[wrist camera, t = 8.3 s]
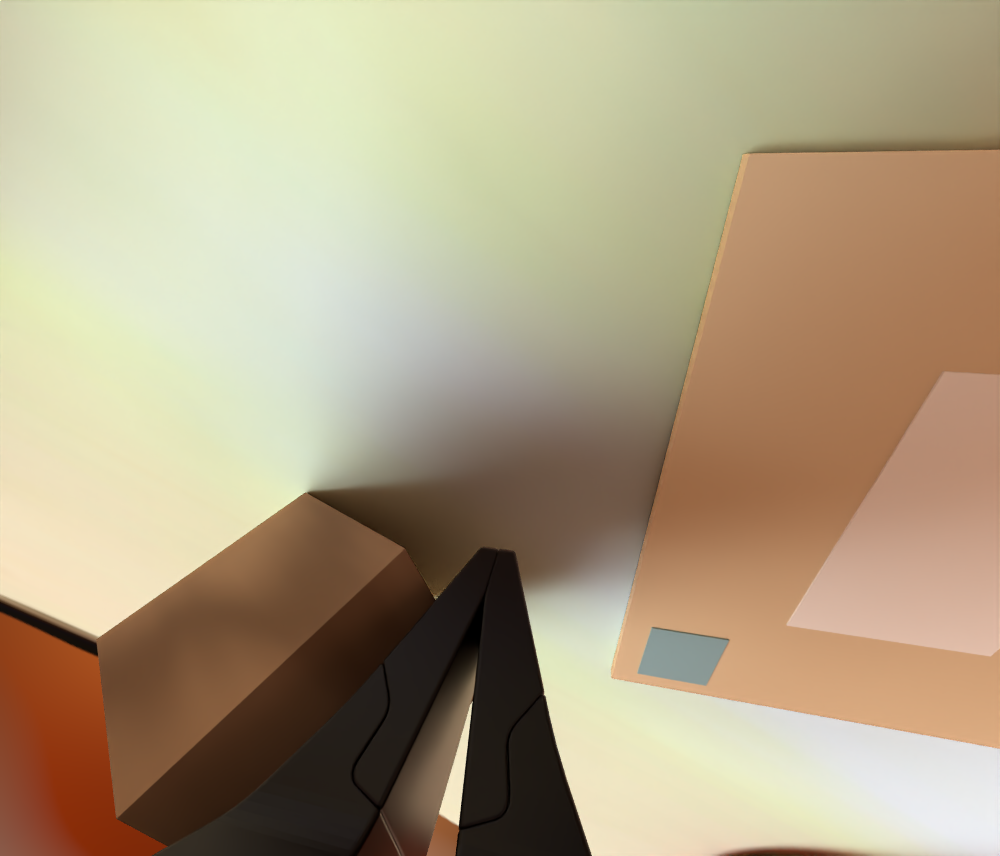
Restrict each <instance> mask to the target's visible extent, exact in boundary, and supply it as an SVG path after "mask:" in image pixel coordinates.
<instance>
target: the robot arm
mask: <svg viewBox="0 0 1000 856" xmlns="http://www.w3.org/2000/svg"><path fill="white" fill-rule="evenodd" d="M383 664H384V665H383ZM383 664H380V665H379V666H378V667H377V668H376V670H375V671H374V672H373V673H372V674H371V675H370V677H369V678H368V679H367V680H366V681H365V682H364V683H363V684H362V686H361V687H360V688H359V689H358V690H357V691H356V692H355V693H354V694H353V695H352V697H351V698H350V699H349V700H348V701H347V702H346V703H345V704H344V705H343V706H342V707H341V708H340V709H339V710H338V711H337V712H336V713H335V714H334V715H333V716H332V717H331V718H330V719H329V720H328V721H327V722H326V723H325V724H324V725H323V726H322V727H321V728H320V729H319V730H318V731H317V732H316V733H315V734H313V735H312V736H311V737H310V738H309V739H308V740H307V741H306V742H305V743H304V744H303V745H302V746H301V747H300V748H299V749H298V750H297V751H296V752H295V753H294V754H293V755H292V756H291V757H289V758H288V759H287V760H286V761H285V762H284V763H283V764H282V765H281V766H280V767H279V768H278V769H277V770H276V771H275V772H274V773H273V774H272V775H271V776H270V777H269V778H268V779H267V780H265V781H264V782H263V783H262V784H261V785H260V786H259V787H258V788H257V789H256V790H255V791H253V792H252V793H251V794H250V795H249V796H247V797H246V798H245V799H244V800H242V801H241V802H240V803H238V804H237V805H236V806H235V807H233V808H232V809H230V810H229V811H227V812H226V813H224V814H223V815H221V816H220V817H218V818H216V819H215V820H213V821H211V822H210V823H208V824H206V825H204V826H203V827H201V828H199V829H197V830H196V831H194V832H192V833H190V834H189V835H187V836H185V837H183V838H182V839H180V840H178V841H176V842H175V843H173V844H171V845H169V846H168V847H166V848H164V849H163V850H161V851H159V852H157V853H156V854H154V855H152V856H426V855H427V852H428V848H429V845H430V841H431V838H432V835H433V831H434V828H435V824H436V821H437V817H438V814H439V810H440V807H441V804H442V800H443V797H444V793H445V790H446V786H447V783H448V779H449V776H450V773H451V769H452V766H453V762H454V759H455V755H456V752H457V748H458V745H459V741H460V738H461V735H462V731H463V728H464V724H465V721H466V717H467V714H468V710H469V707H470V704H471V700H472V697H473V703H472V712H471V721H470V730H469V739H468V748H467V757H466V766H465V775H464V784H463V793H462V802H461V811H460V820H459V833H458V839H457V847H456V856H592V855H591V852H590V849H589V846H588V843H587V839H586V836H585V833H584V830H583V827H582V824H581V821H580V818H579V815H578V812H577V809H576V806H575V803H574V800H573V797H572V794H571V791H570V788H569V785H568V782H567V779H566V775H565V772H564V769H563V765H562V762H561V759H560V755H559V752H558V749H557V745H556V741H555V737H554V733H553V728H552V724H551V720H550V716H549V711H548V706H547V701H546V697H545V695H544V688H543V683H542V678H541V673H540V668H539V664H538V659H537V654H536V649H535V644H534V640H533V635H532V630H531V625H530V620H529V616H528V611H527V606H526V601H525V596H524V592H523V587H522V582H521V577H520V572H519V568H518V563H517V558H516V554H515V552H514V551H511V550H504V549H499V550H498V549H496V548H490V547H482V548H480V549H479V550H478V551H477V553H476V554H475V555H474V556H473V557H472V558H471V560H470V561H469V562H468V563H467V564H466V565H465V567H464V568H463V569H462V570H461V571H460V572H459V574H458V575H457V576H456V577H455V578H454V579H453V580H452V582H451V583H450V584H449V585H448V586H447V587H446V589H445V590H444V591H443V592H442V593H441V594H440V596H439V597H438V598H437V599H436V600H435V601H434V603H433V604H432V605H431V606H430V607H429V608H428V609H427V611H426V612H425V613H424V614H423V615H422V616H421V618H420V619H419V620H418V621H417V622H416V623H415V625H414V626H413V627H412V628H411V629H410V630H409V632H408V633H407V634H406V635H405V636H404V637H403V638H402V640H401V641H400V642H399V643H398V644H397V645H396V647H395V648H394V649H393V650H392V651H391V652H390V654H389V655H388V656H387V657H386V658H385V659H384V661H383ZM473 693H474V694H473Z"/></svg>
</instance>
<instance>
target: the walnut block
mask: <svg viewBox="0 0 1000 856" xmlns="http://www.w3.org/2000/svg"><path fill="white" fill-rule="evenodd" d="M434 601H435V599H434V597H433V595H432V594H431V592H430V590H429V588H428V587H427V585H426V583H425V582H424V580H423V578H422V576H421V575H420V573H419V571H418V570H417V568H416V566H415V564H414V563H413V561H412V559H411V558H410V556H409V554H408V552H407V551H406V549H405V548H404V547H402V546H400V545H398V544H396V543H395V542H393V541H391V540H389V539H388V538H386V537H384V536H382V535H380V534H379V533H377V532H375V531H373V530H371V529H370V528H368V527H366V526H364V525H363V524H361V523H359V522H357V521H355V520H354V519H352V518H350V517H348V516H346V515H345V514H343V513H341V512H339V511H338V510H336V509H334V508H332V507H330V506H329V505H327V504H325V503H323V502H321V501H320V500H318V499H316V498H314V497H313V496H311V495H309V494H307V493H304V494H303V495H301V496H300V497H298V498H297V499H295V500H294V501H293V502H291V503H290V504H288V505H287V506H285V507H284V508H283V509H281V510H280V511H278V512H277V513H276V514H274V515H273V516H271V517H270V518H268V519H267V520H266V521H264V522H263V523H261V524H260V525H258V526H257V527H256V528H254V529H253V530H251V531H250V532H249V533H247V534H246V535H244V536H243V537H241V538H240V539H239V540H237V541H236V542H234V543H233V544H231V545H230V546H229V547H227V548H226V549H224V550H223V551H222V552H220V553H219V554H217V555H216V556H214V557H213V558H212V559H210V560H209V561H207V562H206V563H204V564H203V565H202V566H200V567H199V568H197V569H196V570H195V571H193V572H192V573H190V574H189V575H187V576H186V577H185V578H183V579H182V580H180V581H179V582H177V583H176V584H175V585H173V586H172V587H170V588H169V589H167V590H166V591H165V592H163V593H162V594H160V595H159V596H158V597H156V598H155V599H153V600H152V601H150V602H149V603H148V604H146V605H145V606H143V607H142V608H140V609H139V610H138V611H136V612H135V613H133V614H132V615H131V616H129V617H128V618H126V619H125V620H123V621H122V622H121V623H119V624H118V625H116V626H115V627H113V628H112V629H111V630H109V631H108V632H106V633H105V634H104V635H102V636H101V637H99V638H98V639H97V648H98V657H99V666H100V674H101V684H102V693H103V702H104V711H105V720H106V728H107V738H108V747H109V756H110V765H111V774H112V783H113V793H114V801H115V811H116V819H118V820H120V821H122V822H123V823H125V824H127V825H129V826H131V827H133V828H135V829H137V830H138V831H140V832H142V833H144V834H146V835H148V836H149V837H151V838H153V839H155V840H157V841H159V842H161V843H163V844H165V845H166V846H169V845H171V844H173V843H175V842H176V841H178V840H180V839H182V838H183V837H185V836H187V835H189V834H190V833H192V832H194V831H196V830H197V829H199V828H201V827H203V826H204V825H206V824H208V823H210V822H211V821H213V820H215V819H216V818H218V817H220V816H221V815H223V814H224V813H226V812H227V811H229V810H230V809H232V808H233V807H235V806H236V805H237V804H238V803H240V802H241V801H242V800H244V799H245V798H246V797H247V796H249V795H250V794H251V793H252V792H253V791H255V790H256V789H257V788H258V787H259V786H260V785H261V784H262V783H263V782H264V781H265V780H267V779H268V778H269V777H270V776H271V775H272V774H273V773H274V772H275V771H276V770H277V769H278V768H279V767H280V766H281V765H282V764H283V763H284V762H285V761H286V760H287V759H288V758H289V757H291V756H292V755H293V754H294V753H295V752H296V751H297V750H298V749H299V748H300V747H301V746H302V745H303V744H304V743H305V742H306V741H307V740H308V739H309V738H310V737H311V736H312V735H313V734H315V733H316V732H317V731H318V730H319V729H320V728H321V727H322V726H323V725H324V724H325V723H326V722H327V721H328V720H329V719H330V718H331V717H332V716H333V715H334V714H335V713H336V712H337V711H338V710H339V709H340V708H341V707H342V706H343V705H344V704H345V703H346V702H347V701H348V700H349V699H350V698H351V697H352V695H353V694H354V693H355V692H356V691H357V690H358V689H359V688H360V687H361V686H362V684H363V683H364V682H365V681H366V680H367V679H368V678H369V677H370V675H371V674H372V673H373V672H374V671H375V670H376V668H377V667H378V666H379V665H380V664H383V661H384V659H385V658H386V657H387V656H388V655H389V654H390V652H391V651H392V650H393V649H394V648H395V647H396V645H397V644H398V643H399V642H400V641H401V640H402V638H403V637H404V636H405V635H406V634H407V633H408V632H409V630H410V629H411V628H412V627H413V626H414V625H415V623H416V622H417V621H418V620H419V619H420V618H421V616H422V615H423V614H424V613H425V612H426V611H427V609H428V608H429V607H430V606H431V605H432V604H433V603H434ZM383 665H384V664H383ZM473 694H474V693H473ZM472 701H473V697H472V700H471V703H472Z"/></svg>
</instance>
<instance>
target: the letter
mask: <svg viewBox="0 0 1000 856" xmlns="http://www.w3.org/2000/svg"><path fill="white" fill-rule="evenodd" d="M611 677H612V678H614V679H619V680H625V681H630V682H636V683H641V684H647V685H652V686H658V687H663V688H669V689H674V690H680V691H685V692H691V693H696V694H702V695H707V696H713V697H718V698H724V699H729V700H735V701H740V702H746V703H751V704H757V705H762V706H768V707H773V708H779V709H784V710H790V711H795V712H801V713H806V714H812V715H817V716H823V717H828V718H834V719H839V720H845V721H850V722H856V723H861V724H867V725H873V726H878V727H884V728H889V729H895V730H900V731H906V732H911V733H917V734H922V735H928V736H933V737H939V738H944V739H950V740H955V741H961V742H966V743H972V744H977V745H983V746H988V747H994V748H999V749H1000V150H941V151H876V152H812V153H749V154H743V155H742V159H741V163H740V167H739V171H738V175H737V179H736V183H735V187H734V191H733V194H732V198H731V202H730V206H729V210H728V214H727V218H726V222H725V226H724V230H723V234H722V237H721V241H720V245H719V249H718V253H717V257H716V261H715V265H714V269H713V273H712V277H711V280H710V284H709V288H708V292H707V296H706V300H705V304H704V308H703V312H702V316H701V320H700V323H699V327H698V331H697V335H696V339H695V343H694V347H693V351H692V355H691V359H690V362H689V366H688V370H687V374H686V378H685V382H684V386H683V390H682V394H681V398H680V402H679V405H678V409H677V413H676V417H675V421H674V425H673V429H672V433H671V437H670V441H669V445H668V448H667V452H666V456H665V460H664V464H663V468H662V472H661V476H660V480H659V484H658V488H657V491H656V495H655V499H654V503H653V507H652V511H651V515H650V519H649V523H648V527H647V530H646V534H645V538H644V542H643V546H642V550H641V554H640V558H639V562H638V566H637V570H636V573H635V577H634V581H633V585H632V589H631V593H630V597H629V601H628V605H627V609H626V613H625V616H624V620H623V624H622V628H621V632H620V636H619V640H618V644H617V648H616V652H615V656H614V659H613V663H612V667H611Z"/></svg>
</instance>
